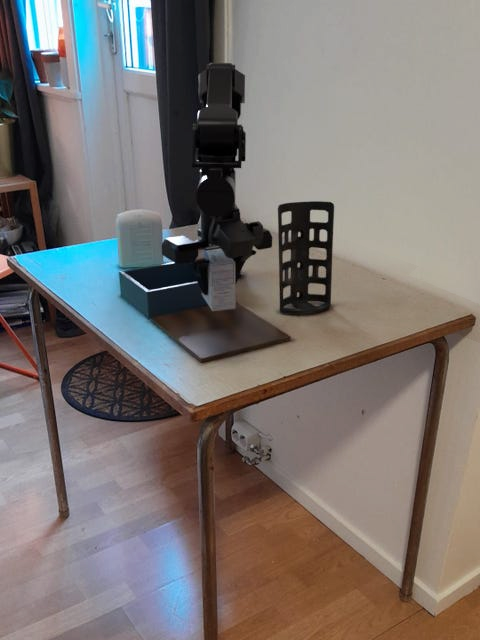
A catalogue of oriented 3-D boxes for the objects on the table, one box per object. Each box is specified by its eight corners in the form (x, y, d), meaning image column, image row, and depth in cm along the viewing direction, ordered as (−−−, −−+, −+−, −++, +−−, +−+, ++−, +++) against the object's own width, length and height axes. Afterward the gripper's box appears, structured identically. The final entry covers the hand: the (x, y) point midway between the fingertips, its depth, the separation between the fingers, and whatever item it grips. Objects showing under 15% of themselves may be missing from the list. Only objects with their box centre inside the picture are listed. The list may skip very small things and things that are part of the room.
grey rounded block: (162, 261, 153) (160, 206, 146) (165, 266, 149) (162, 211, 143) (118, 263, 151) (113, 208, 144) (119, 269, 147) (114, 213, 141)
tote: (197, 282, 141) (196, 257, 138) (229, 302, 131) (229, 276, 128) (120, 296, 133) (118, 271, 130) (148, 319, 123) (146, 292, 121)
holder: (289, 318, 124) (290, 208, 115) (269, 308, 130) (269, 203, 121) (337, 309, 128) (342, 202, 119) (316, 300, 134) (319, 198, 125)
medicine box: (236, 310, 114) (236, 261, 109) (211, 312, 113) (210, 263, 108) (224, 294, 120) (224, 247, 116) (201, 296, 119) (200, 249, 115)
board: (233, 304, 130) (233, 300, 130) (290, 340, 116) (290, 336, 116) (150, 321, 122) (150, 317, 122) (201, 363, 108) (201, 358, 108)
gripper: (190, 219, 97) (192, 317, 105) (293, 204, 105) (288, 296, 114) (157, 203, 105) (162, 295, 113) (256, 190, 113) (253, 277, 122)
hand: (218, 291), depth 115 cm, fingers closed on medicine box, 5 cm apart
